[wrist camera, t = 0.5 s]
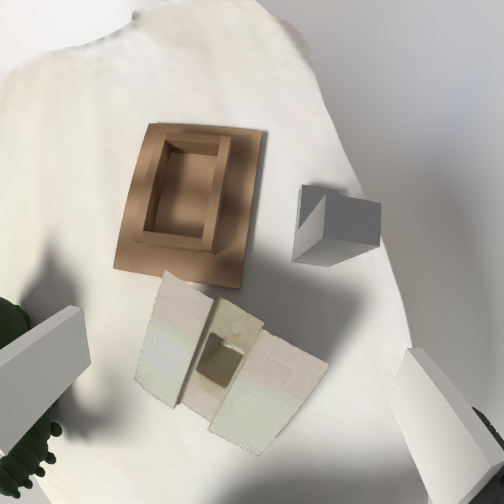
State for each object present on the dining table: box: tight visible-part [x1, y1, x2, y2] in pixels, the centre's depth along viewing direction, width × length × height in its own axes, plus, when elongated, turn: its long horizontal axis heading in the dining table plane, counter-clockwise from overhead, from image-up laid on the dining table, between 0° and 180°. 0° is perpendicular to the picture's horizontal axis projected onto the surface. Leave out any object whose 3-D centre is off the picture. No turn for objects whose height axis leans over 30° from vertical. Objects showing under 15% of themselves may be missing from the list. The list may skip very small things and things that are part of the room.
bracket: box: [292, 185, 381, 267], centre depth 25 cm, size 8×4×13 cm, turn 172°
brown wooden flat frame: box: [113, 123, 262, 289], centre depth 30 cm, size 18×14×4 cm
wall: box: [134, 270, 329, 456], centre depth 27 cm, size 16×9×15 cm
